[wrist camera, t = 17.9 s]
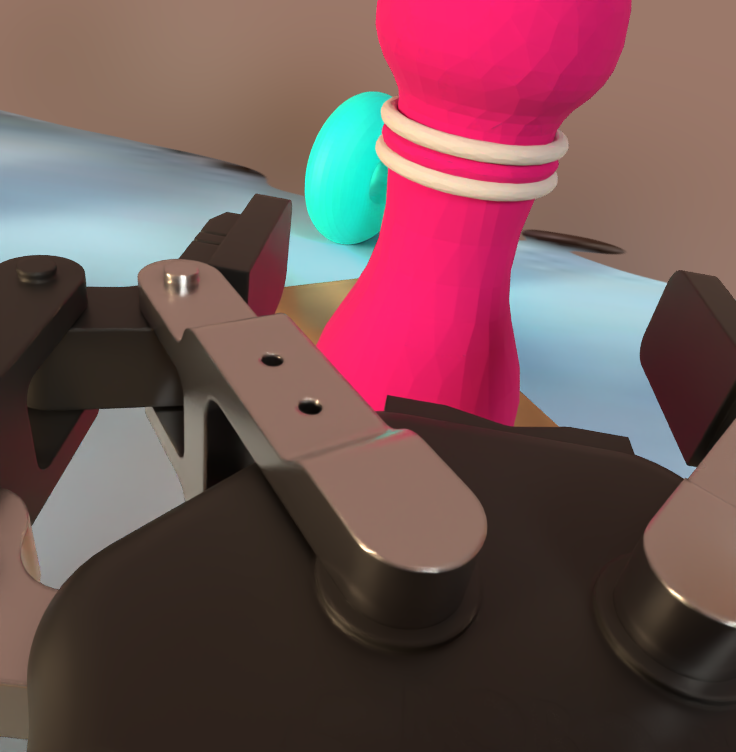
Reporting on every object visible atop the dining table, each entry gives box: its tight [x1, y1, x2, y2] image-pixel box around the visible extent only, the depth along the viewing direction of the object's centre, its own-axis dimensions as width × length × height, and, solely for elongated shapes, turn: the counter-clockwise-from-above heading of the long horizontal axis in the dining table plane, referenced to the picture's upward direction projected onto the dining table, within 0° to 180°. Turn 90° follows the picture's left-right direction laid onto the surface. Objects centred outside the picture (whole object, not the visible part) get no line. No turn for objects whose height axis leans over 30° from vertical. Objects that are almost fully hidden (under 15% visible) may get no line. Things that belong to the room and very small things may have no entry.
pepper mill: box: [316, 0, 631, 426], centre depth 19 cm, size 7×7×20 cm
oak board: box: [275, 278, 559, 427], centre depth 31 cm, size 14×20×2 cm
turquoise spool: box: [305, 92, 392, 244], centre depth 43 cm, size 10×10×10 cm
